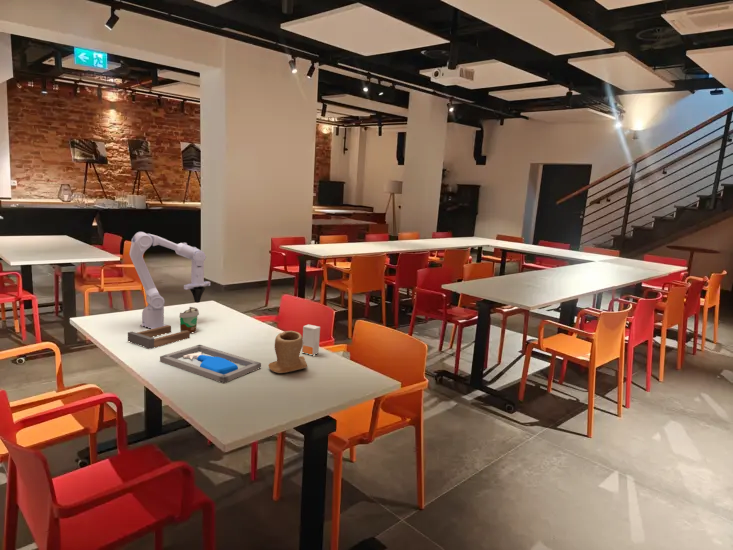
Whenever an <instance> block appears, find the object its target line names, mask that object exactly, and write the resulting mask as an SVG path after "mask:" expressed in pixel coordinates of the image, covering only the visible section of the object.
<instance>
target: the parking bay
mask: <svg viewBox="0 0 733 550" xmlns="http://www.w3.org/2000/svg"><path fill="white" fill-rule="evenodd" d="M166 325H167V326H162V327H158V328H154V329H145V330H142V331H139V332H136V333H139V334H142V335H145V336H148V337H152V338H154V337H153V336H155V338H154V347H155V348H158V346H159V347H161V346H166V345H168V344H173V343H177V342H180V341H183V339H184V340H187V339H190V338H191V337H190V334H191V333H190V331H187V330H186V331H182V332H181V331H180V332H179V331H178V332H175V333H172V325H170V324H169V325H168V324H166ZM169 332H171V333H169ZM165 333H167V334H168V335H167V334H166V335H165ZM161 334H163V335H164V336H163V335H161ZM157 335H159V336H157ZM179 340H180V341H179ZM176 341H177V342H176ZM172 342H173V343H172ZM165 344H166V345H165Z"/></svg>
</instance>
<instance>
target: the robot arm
mask: <svg viewBox="0 0 733 550" xmlns="http://www.w3.org/2000/svg"><path fill="white" fill-rule="evenodd" d="M130 242H131V245H130V249H129V257H130V259H131V262H132V264H133V266H134V268H135V271H136V273H137V275H138V278H139V280H140V282H141V284H142V287H143V289H144V294H145V296H146V297H145V298H146V299H145V301H146V302H147V306H145V307H144V308H143V309H142V312H141V319H142V321H141V322H142V323H141V324H140V327H143V326H145V327H144V328H146V327H148V328H147V329H149V328H151V329H154V328H158V327H162V326H167V325H168V324H165V304H166V302H165V297H163V296H161V294H160V292H159V291H158V288H157V286H156V284H155V283H154V280H153V277H152V276H151V273H150V271H149V268H148V266H147V264H146V262H145V259H144V254H145V252H146V251H147V250H148V249H150V247H151V246H152V247H155V246H161V247H164V248H167V249H169V250H170V249H171V250H173V251H175V254H176V255H178V256H181V257H184V258H187V259H188V260H191V273H190V274H191V275H190V277H191V278H190V282H191V283H187V284H184V285H183V290H186V291H187V290H190V292H191V293H192V296H193V297H192V298H193V301H194V303H200V301H201V299H202V296H203V293H204V292H205V291H206V288H205V287H210V286H211V281H206V280H205V278H204V277H205V261H206V258H207V256H206V253H205V251H203V250H201V249H199V248H197V247H196V246H191V245H188V243H187V242H180V243H175V242H173V241H170V240H168V239H167V238H164V237H161V236H158V235H155V234H151V233H146V232H144V231H138V232H136V233H135V234H134V235H133V236H132V238H131V241H130Z"/></svg>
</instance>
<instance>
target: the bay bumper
mask: <svg viewBox="0 0 733 550" xmlns="http://www.w3.org/2000/svg"><path fill="white" fill-rule="evenodd" d="M154 339H155V338H154V337H148V336H145V335H142V334H139V333H137V332H136V331H129V332H127V342H128V341H130V342H132V343H131V344H133V343H136V344H139V345H142V346H144V347H143V348H146V347H147V348H146V349H149V348H151V349H155V348H154ZM130 342H129V343H130ZM136 344H135V345H136ZM139 345H138V346H139ZM142 346H141V347H142Z"/></svg>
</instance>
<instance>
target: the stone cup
mask: <svg viewBox="0 0 733 550" xmlns="http://www.w3.org/2000/svg"><path fill="white" fill-rule="evenodd" d="M302 339H303V335H302V334H301V333H300V332H298V331H295V330H294V331H293V330H285V331H283V332H280V333H278V334H277V335H276V337H275V339H274V353H275V355H276V361H273V362H269V364H268V369H270V371H272V372H273V373H274V372H275V373H277V374H283V373H284V374H285V373H289V372H295V371H299V370H303V369H306V368H308V366H309V365H308V363H307V361H306V358H305V357H304V356H301V355H300V354H301V352H302V345H303V340H302Z"/></svg>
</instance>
